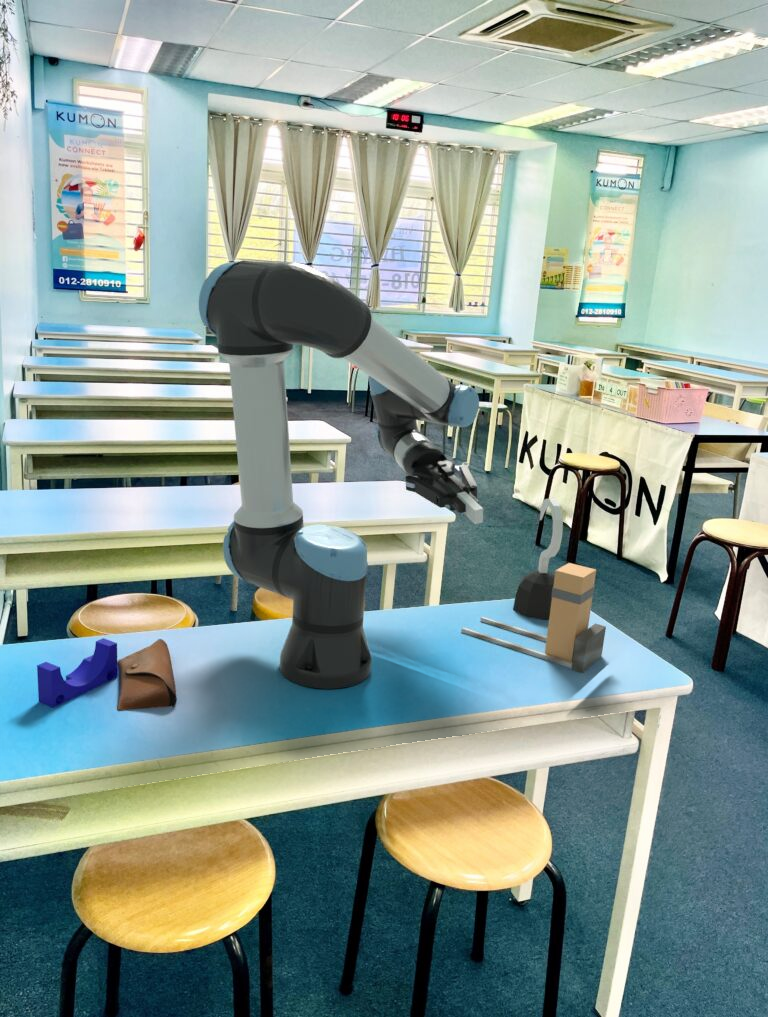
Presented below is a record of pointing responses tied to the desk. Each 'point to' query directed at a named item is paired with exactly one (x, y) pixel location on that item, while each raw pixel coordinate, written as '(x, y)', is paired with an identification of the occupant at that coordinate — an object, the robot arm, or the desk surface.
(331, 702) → the desk surface
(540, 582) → the hook
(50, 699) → the purple cradle bracket
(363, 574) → the robot arm
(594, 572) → the tan box with band
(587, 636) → the track
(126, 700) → the sunglasses case
